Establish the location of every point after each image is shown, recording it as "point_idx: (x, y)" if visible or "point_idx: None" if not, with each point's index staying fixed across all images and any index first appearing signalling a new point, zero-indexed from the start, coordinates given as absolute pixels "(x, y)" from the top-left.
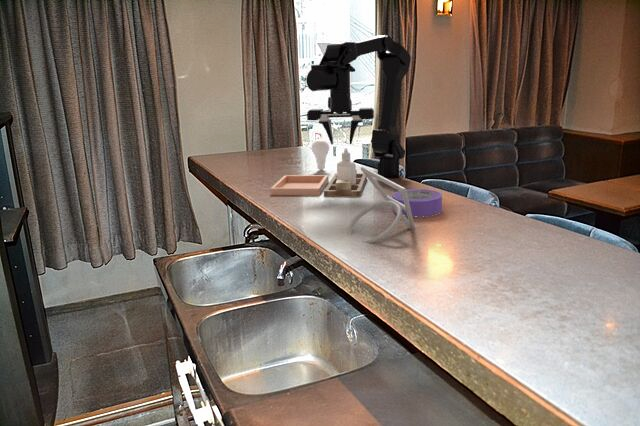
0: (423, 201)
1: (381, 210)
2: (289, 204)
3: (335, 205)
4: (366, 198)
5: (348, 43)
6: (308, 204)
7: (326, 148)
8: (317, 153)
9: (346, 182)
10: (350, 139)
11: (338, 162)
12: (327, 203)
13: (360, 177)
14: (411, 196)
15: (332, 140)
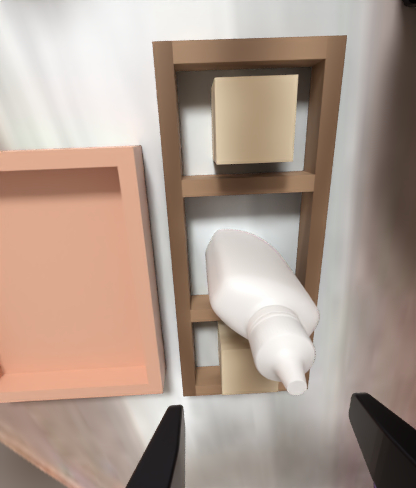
0: None
1: (352, 458)
2: (99, 436)
3: (232, 434)
4: (318, 369)
5: None
6: (154, 432)
7: None
8: None
9: (264, 388)
10: (382, 481)
11: (220, 311)
12: (206, 421)
13: (301, 64)
14: None
15: (184, 476)
